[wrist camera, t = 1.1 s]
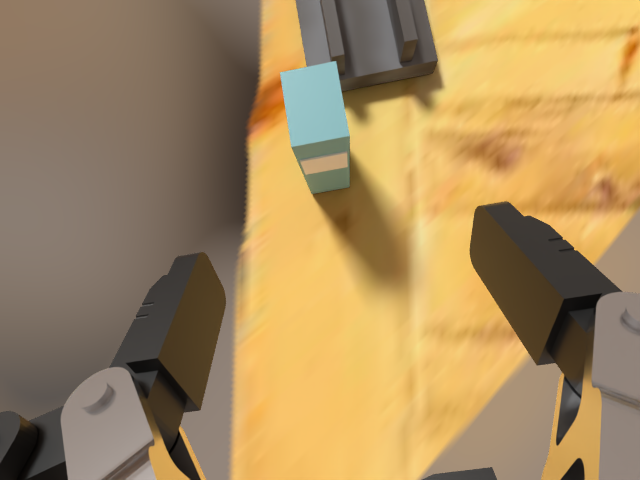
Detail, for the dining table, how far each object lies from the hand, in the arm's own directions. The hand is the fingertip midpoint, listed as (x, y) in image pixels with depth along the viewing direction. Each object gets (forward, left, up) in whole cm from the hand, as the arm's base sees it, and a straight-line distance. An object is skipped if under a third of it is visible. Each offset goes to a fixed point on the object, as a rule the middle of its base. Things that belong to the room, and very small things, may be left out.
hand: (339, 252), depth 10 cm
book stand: (-21, -16, -23) cm, 35 cm away
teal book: (-7, -9, -23) cm, 26 cm away
